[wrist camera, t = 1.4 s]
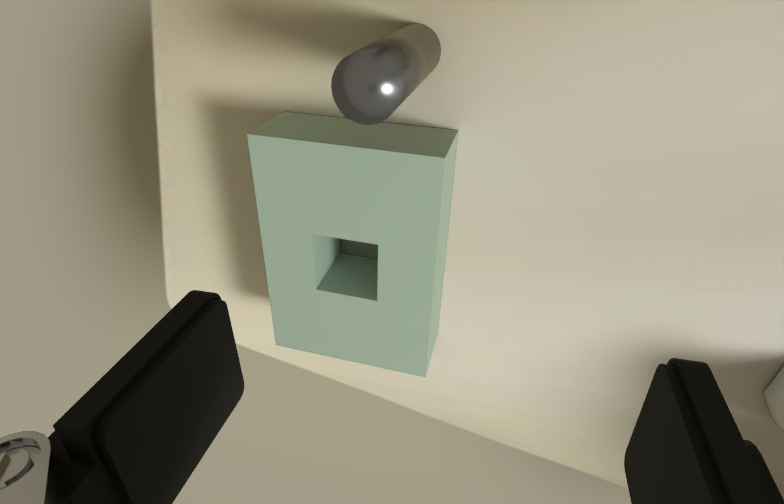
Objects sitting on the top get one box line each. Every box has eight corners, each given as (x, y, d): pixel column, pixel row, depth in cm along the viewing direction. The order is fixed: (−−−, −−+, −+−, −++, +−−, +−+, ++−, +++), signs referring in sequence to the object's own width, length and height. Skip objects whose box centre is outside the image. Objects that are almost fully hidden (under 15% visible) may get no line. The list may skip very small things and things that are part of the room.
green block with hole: (283, 111, 33) (246, 134, 29) (458, 130, 30) (444, 157, 26) (301, 306, 42) (275, 345, 38) (437, 333, 40) (425, 377, 35)
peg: (392, 21, 28) (329, 49, 20) (442, 24, 28) (399, 55, 19) (390, 75, 30) (332, 121, 22) (438, 79, 29) (397, 128, 21)
